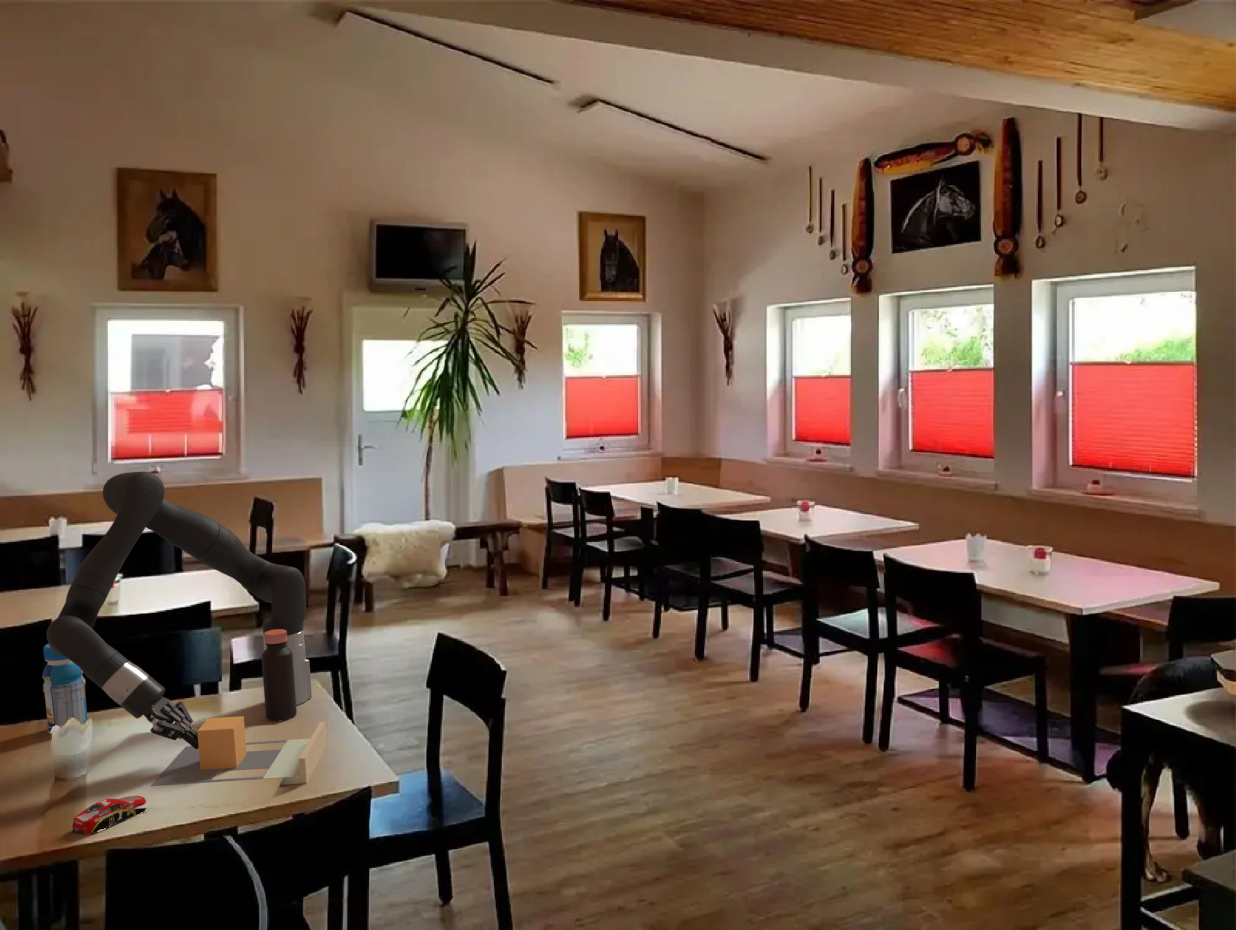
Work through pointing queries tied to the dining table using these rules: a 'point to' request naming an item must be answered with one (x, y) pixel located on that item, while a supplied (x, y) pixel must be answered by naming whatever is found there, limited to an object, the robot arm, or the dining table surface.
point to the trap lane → (254, 762)
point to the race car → (107, 813)
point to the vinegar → (278, 677)
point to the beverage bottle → (63, 689)
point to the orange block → (222, 743)
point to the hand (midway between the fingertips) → (201, 744)
